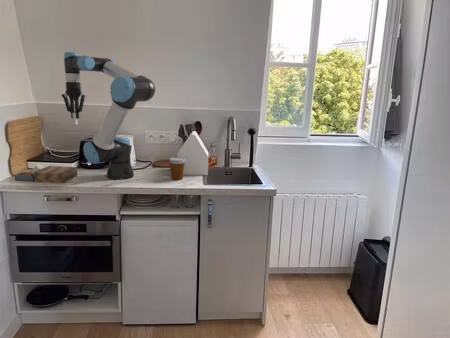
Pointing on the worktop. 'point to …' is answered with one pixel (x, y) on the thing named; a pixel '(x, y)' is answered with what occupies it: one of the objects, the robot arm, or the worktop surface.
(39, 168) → the cream tile
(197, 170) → the white house model
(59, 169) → the walnut board
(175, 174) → the disposable coffee cup
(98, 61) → the robot arm
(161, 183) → the worktop surface
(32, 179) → the tray
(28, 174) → the terracotta tile
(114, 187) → the worktop surface
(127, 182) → the worktop surface
